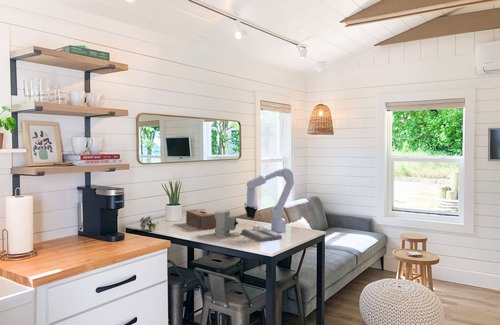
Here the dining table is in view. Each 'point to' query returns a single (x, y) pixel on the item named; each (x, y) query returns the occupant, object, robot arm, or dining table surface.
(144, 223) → the passion flower
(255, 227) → the switch
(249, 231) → the breaker panel
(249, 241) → the dining table surface
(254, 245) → the dining table surface
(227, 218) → the circuit breaker
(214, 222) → the tissue box cover
